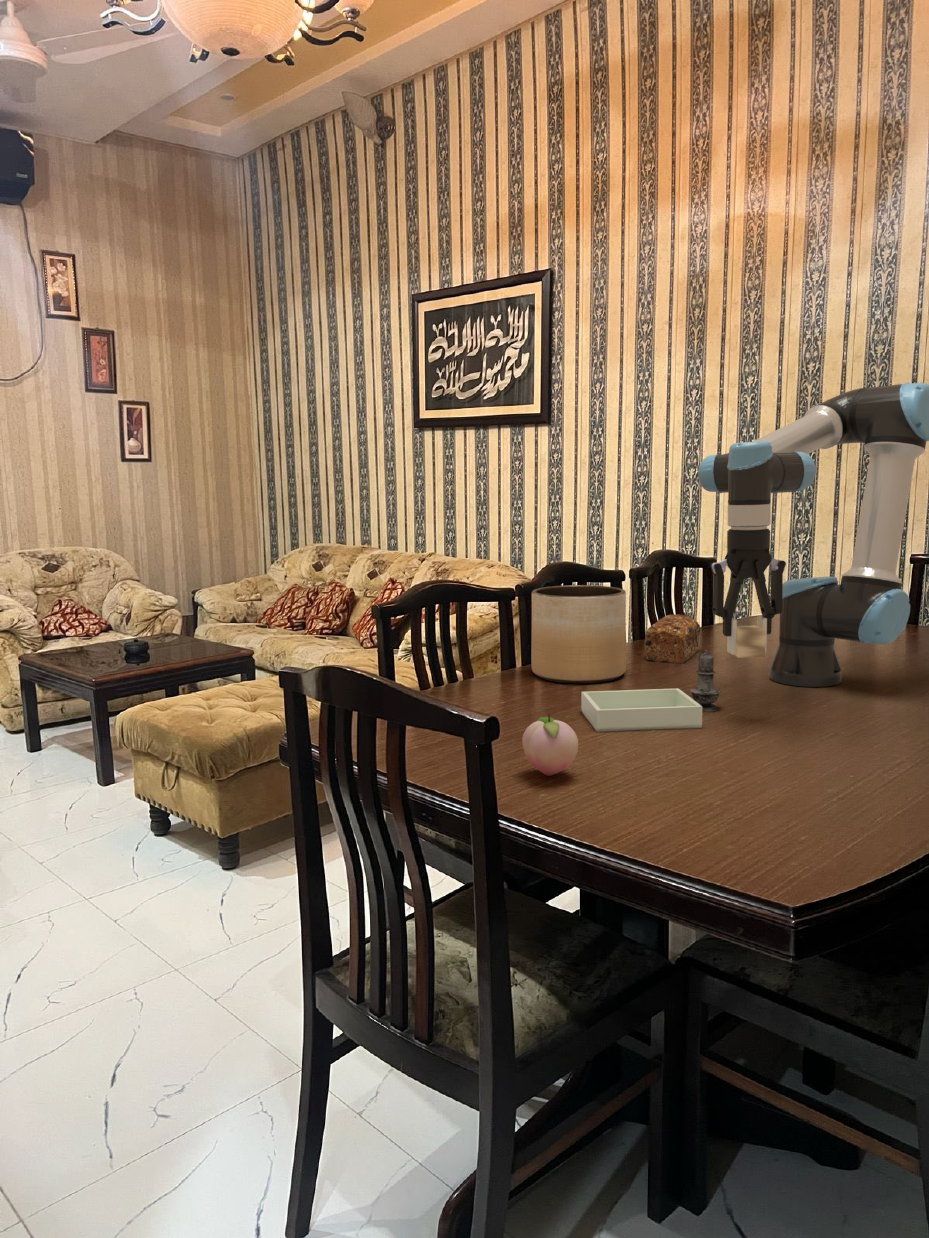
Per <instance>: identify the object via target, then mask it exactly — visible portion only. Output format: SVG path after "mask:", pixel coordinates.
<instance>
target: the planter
mask: <svg viewBox="0 0 929 1238" xmlns="http://www.w3.org/2000/svg"><path fill="white" fill-rule="evenodd" d="M626 599H627V592H626V590H625V589H623V588H620V587H615V586H614V587H613V586H607V585H606V586H605V585H588V584H585V585H584V584H581V585H580V584H579V585H577V584H576V585H554V586H553V585H552V586H545V587H540V588H535V589H533V590H532V591H531V650H530V651H531V658H530V659H531V663H530V664H531V670H532V672H533V674H535V675H536V677H537V676H538V677H539V678H540V679H543V680H546V681H549V682H556V683H561V684H597V683H604V682H609V681H613V680H616V679H618V678H621V676H622V675H624V673H625V672H626V670H627V669H626V668H627V630H626V629H627V627H626V625H627V623H626V621H627V618H626V616H627V610H626V609H627V607H626V606H627V604H626V603H627V602H626V601H627V600H626Z"/></svg>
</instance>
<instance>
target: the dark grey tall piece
mask: <svg viewBox="0 0 929 1238" xmlns="http://www.w3.org/2000/svg"><path fill="white" fill-rule="evenodd" d="M714 663H715V662H714V656H713V655H712V654H710V653H709V650H708V649H707V648H706V649H704V652H703V653H701V654H700V655H699V656H698V664H697V665H698V666H697V669H698V670H696V673H697V683H696V686H695V687H692V688H690V690H689V692H690V693H691V698H692V699H693V700H694V701H696V702H697V703H698V704H700V705H701V706H702V712H707V713H708V712H715V711H716V712H717V711H718V710H719V707H718V706H717V705H716V704H715V702H717V701H718V699H719V696H720V694H721V693H722V691H721V690H720V689H718V688H716V687H715V683H714V674H716V671H715V670H714Z"/></svg>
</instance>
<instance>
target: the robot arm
mask: <svg viewBox="0 0 929 1238" xmlns="http://www.w3.org/2000/svg"><path fill="white" fill-rule="evenodd" d="M927 442H929V384H928V383H923V382H914V383H911V382H910V383H909V382H904V383H898V384H890V385H882V386H871V387H861V388H860V387H859V388H856V389H852V390H849V391H845V392H843V393H841V394H838V395H836V396H833V397H831V398H828V399H827V400H825V401H822V402H820V403H819V404H816V405H814V406H813V407H811V408H809V409H808V410H807V411H806V412H805V414H804V416H802V417H800V418H798V419H797V420H794V421H792V422H790V423H788V424H786V425H784V426H782V427H780V428H777V429H776V430H773V431H772V432H770V433H768V434H766V435H763V436H761V437H759V438H757V439H755V440H753V441H749V442H748V441H747V442H735V443H732V444H730V445H729V450H728V451H729V452H727V453H723V454H720V453H716V454H711V455H708V456H705V457H704V458H703V459H702V461H701V462H700V464H699V466H698V471H697V472H698V473H697V475H698V476H697V477H698V481H699V484H700V486H701V488H703V489H704V490H705V491H707V492H709V493H718V494H724V493H725V494H727V497H728V499H727V526H728V527H730V529H728V530H726V531H727V532H726V534H727V536H726V537H727V538H726V539H727V540H726V555H725V557H724V559H723V560H720V561H717V562H714V561H713V562H711V563H710V568H711V571H712V575H713V576H712V577H713V579H712V580H713V583H712V614H713V615H715V616H717V617H719V618H721V619H722V634H723V636H725V637H726V639H727V640H726V641H727V642H726V644H727V645H726V652H727V653H728V654H731V655H733V656H734V655H735V654H736V631H737V626H738V620H737V619H736V618H734V614H735V610H736V607H737V603H738V599H739V596H740V592H741V588H742V585H743V584H744V581H745V580H747V579H750V578H751V579H752V581H753V584H754V588H755V592H756V596H757V600H758V604H759V605H758V606H759V609H760V613H761V615H759V616H758V615H757V617H756V618H757V619H756V623H757V624H756V626H757V627H760V628H762V629H764V630H766V631H765V654H767V644H768V643H767V638H768V637H767V635H771V633H772V623H773V622H772V619H774V618H775V615H779V630H778V631H779V632H778V646H777V649H776V651H775V654H774V656H773V659H772V662H771V665H770V667H769V679H770V680H771V681H773V682H776V683H778V684H779V683H780V684H783V685H789V686H795V687H809V688H810V687H812V688H813V687H814V688H816V687H821V688H823V687H831V686H837V685H840V683H842V673H843V672H842V668H841V665H840V662H839V658H838V654H837V653H836V649H835V641H836V640H835V639H837V640H845V641H852V642H857V643H858V642H859V643H862V644H867V645H872V644H874V645H875V644H876V645H887V644H889V643H891V642H894V641H895V640H896V639H897V638H898V637H899V636H900V635H901V634H902V633H903V631H904V629H905V627H907V624H908V621H909V617H910V613H911V604H910V602H911V601H910V596H909V595H908V593H906V592H905V591H904V590H902V585H903V582H902V580H901V579H900V578H899V576H898V575H897V573H896V572H897V567H898V562H899V555H900V551H901V550H900V549H901V544H902V539H903V533H904V526H905V521H906V515H907V509H908V504H909V503H908V502H909V497H910V492H911V485H912V479H913V474H914V469H915V463H916V459H917V458H918V457H921V455H923V454H924V453H925V451H926V446H927ZM844 444H846V445H847V444H864V445H863V448H864V450H865V451H866V452H867V454H869V461H868V468H867V474H866V479H865V484H864V490H863V496H862V502H861V510H860V515H859V520H858V526H857V532H856V538H855V544H854V548H853V555H852V561H851V567H850V568H849V570H847V571H845V572H844V573H843V574H842V575H841V578H840V580H841V581H840V584H839V581H838V578H837V576H817V577H816V576H815V577H805V578H804V577H803V578H795V579H788V580H786V581H784V582H783V579H784V578H783V577H784V576H783V574H784V571H785V568H786V566H787V563H786V561H785V560H781V559H776V558H773V556H772V554H771V552H770V550H771V549H770V548H771V530H770V528H768V527H769V526H770V525H771V523H772V522H771V520H772V519H771V517H772V516H771V513H772V512H771V509H772V503H771V502H772V499H771V498H772V494H779V493H791V494H793V493H796V492H801V491H804V490H806V489H808V488H809V487H810V486H811V485H812V484H813V482H814V481H815V478H816V472H817V470H816V464H815V461H814V459H813V458H812V457H811V456H810V454H812V453H813V452H815V451H817V450H819V449H821V450H827V449H831V448H833V447H835V446H838V445H844ZM769 565H770V570H771V571H770V572H771V573H770V595H769V593H768V588H767V584H766V583H767V581H766V580H767V579H766V575H765V571H766V570H767V568H768V567H769ZM726 568H728V569H729V570H730V571H731V575H730V579H729V587H728V589H727V594H726V599H724V598H725V597H724V595H725V574H724V573H725V572H726V571H727V569H726ZM724 600H725V601H724Z"/></svg>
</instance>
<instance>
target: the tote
mask: <svg viewBox="0 0 929 1238" xmlns="http://www.w3.org/2000/svg"><path fill="white" fill-rule="evenodd" d="M580 704H581V710H580V711H581V713H582V714H583V715H584V717H585V718H586V719H587V721H588V722H589V723H590V725H591V726H592V727H593V728H594V730H595V731H596V732H597V733H599V732H600V733H601V732H622V731H623V732H625V731H649V730H676V729H677V730H678V729H682V730H683V729H701V728H702V729H703V711H702V706H701V705H700V704H698V703H697V702H696V701H695V700H694V699H693V697H691V696H689V695H688V694H686V693H685V692H684V691H683V690H681V688H678V687H677V688H655V689H654V688H653V689H648V688H647V689H627V690H626V689H625V690H621V689H620V690H597V691H596V690H594V691H590V690H589V691H581V703H580Z"/></svg>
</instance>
